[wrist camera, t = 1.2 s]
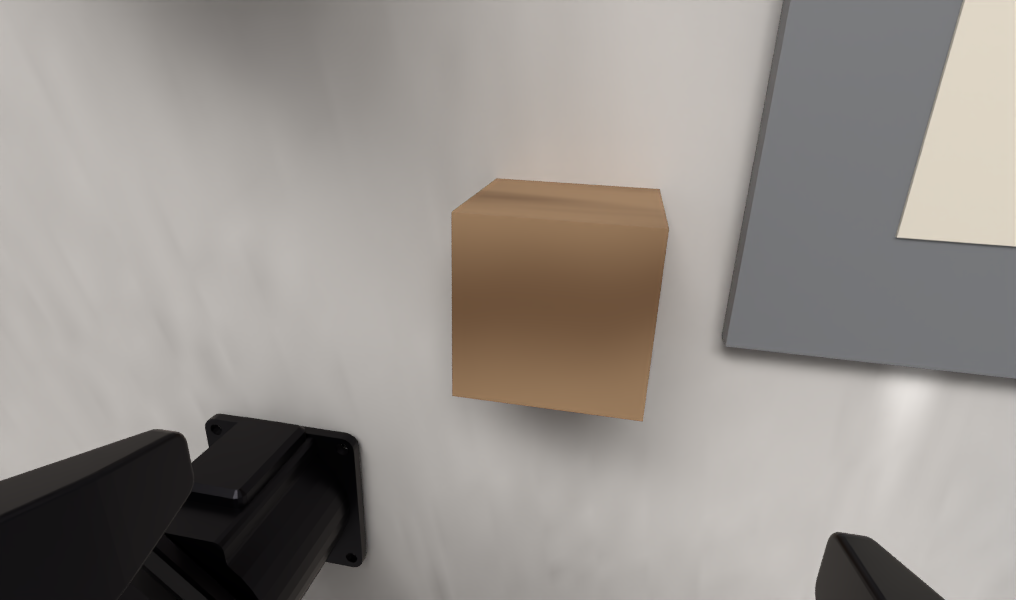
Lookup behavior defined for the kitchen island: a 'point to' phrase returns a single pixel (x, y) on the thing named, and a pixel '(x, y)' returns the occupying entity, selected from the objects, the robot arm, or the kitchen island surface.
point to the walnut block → (557, 295)
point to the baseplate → (885, 188)
